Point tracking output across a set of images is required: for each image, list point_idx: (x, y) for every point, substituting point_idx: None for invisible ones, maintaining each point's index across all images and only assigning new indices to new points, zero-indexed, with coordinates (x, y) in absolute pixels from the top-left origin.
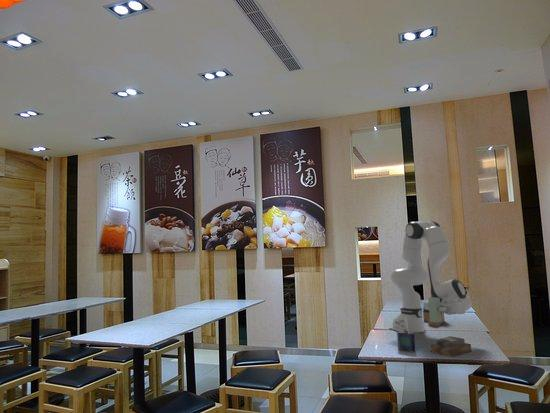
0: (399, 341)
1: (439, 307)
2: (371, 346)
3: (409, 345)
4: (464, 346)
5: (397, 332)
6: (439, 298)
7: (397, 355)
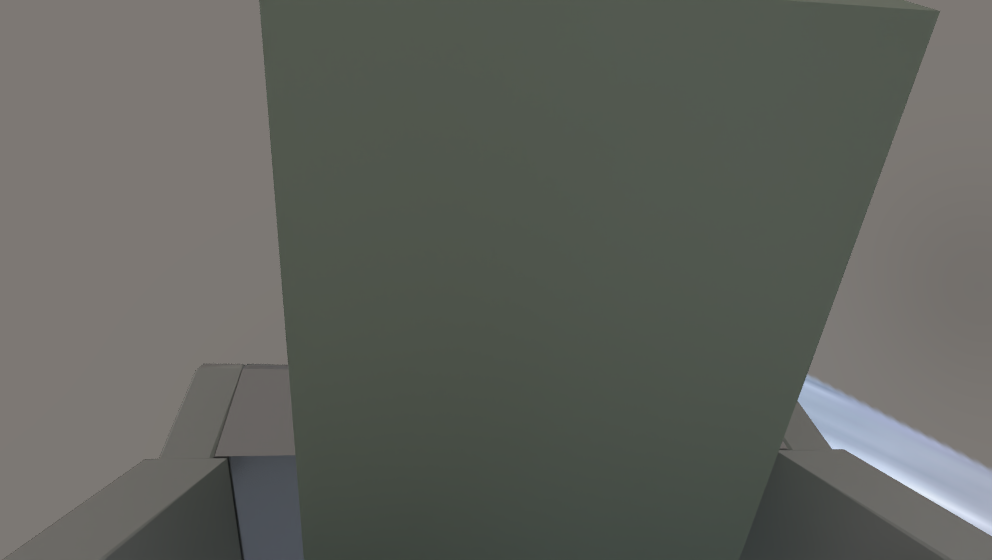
0: None
1: (241, 387)
2: (918, 459)
3: None
4: None
5: None
6: (268, 9)
7: None
